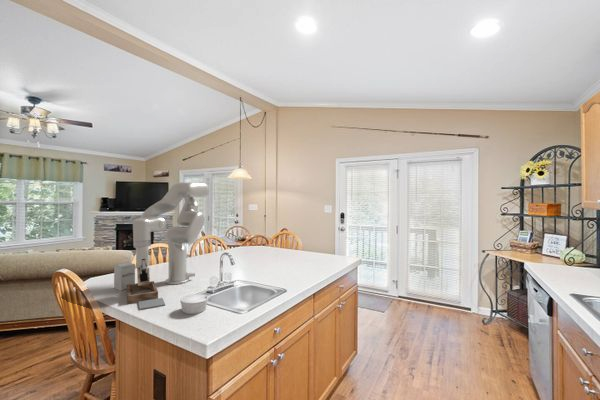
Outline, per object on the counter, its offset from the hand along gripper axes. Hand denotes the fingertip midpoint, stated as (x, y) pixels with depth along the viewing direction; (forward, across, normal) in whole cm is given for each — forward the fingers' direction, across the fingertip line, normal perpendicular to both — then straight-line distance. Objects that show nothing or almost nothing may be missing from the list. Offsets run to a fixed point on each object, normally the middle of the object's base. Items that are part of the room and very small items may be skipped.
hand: (143, 279), depth 144 cm
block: (+2, 0, 0) cm, 2 cm away
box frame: (+8, +1, -1) cm, 8 cm away
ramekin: (+8, +34, +17) cm, 39 cm away
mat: (+7, +17, +2) cm, 18 cm away
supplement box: (+8, -17, -8) cm, 21 cm away
